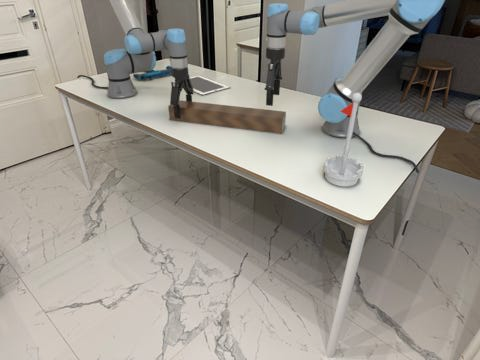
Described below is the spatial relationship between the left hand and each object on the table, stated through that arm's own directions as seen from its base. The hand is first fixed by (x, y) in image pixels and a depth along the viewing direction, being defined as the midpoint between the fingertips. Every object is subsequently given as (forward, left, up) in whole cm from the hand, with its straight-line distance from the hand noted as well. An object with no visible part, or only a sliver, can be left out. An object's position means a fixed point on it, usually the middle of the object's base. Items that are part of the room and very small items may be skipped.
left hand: (184, 112), depth 161 cm
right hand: (+39, +18, +11) cm, 44 cm away
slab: (+19, +9, -3) cm, 21 cm away
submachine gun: (-70, +39, -3) cm, 80 cm away
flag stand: (+82, 0, -3) cm, 82 cm away
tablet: (-31, +40, -3) cm, 50 cm away
